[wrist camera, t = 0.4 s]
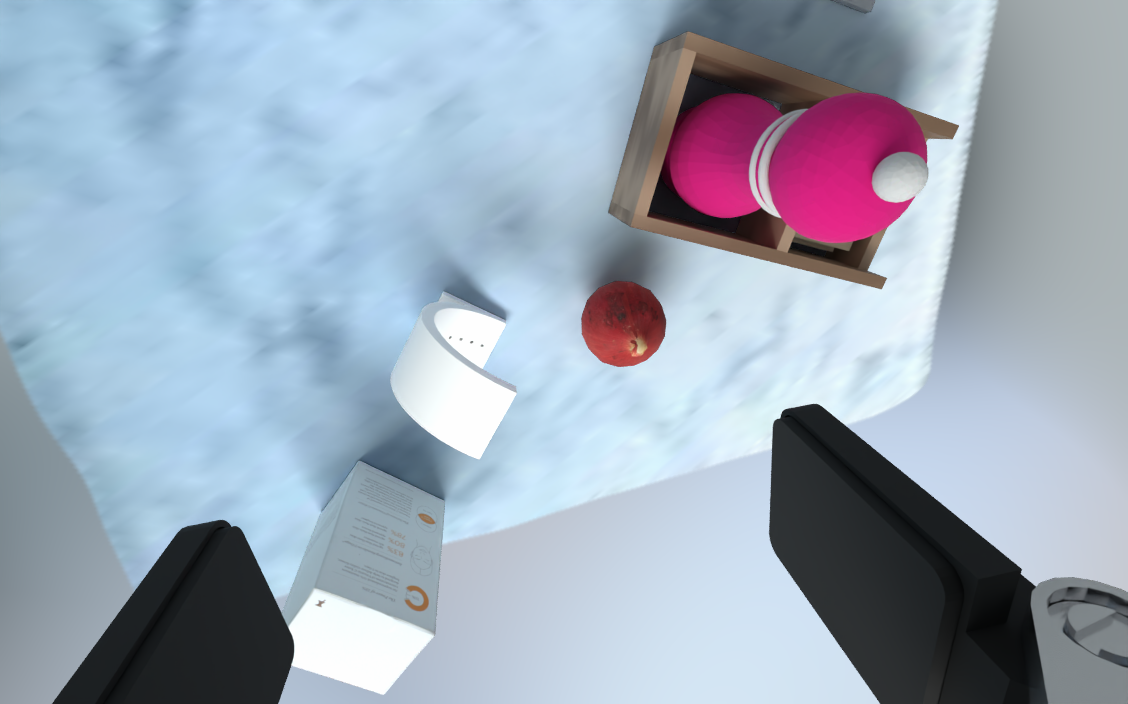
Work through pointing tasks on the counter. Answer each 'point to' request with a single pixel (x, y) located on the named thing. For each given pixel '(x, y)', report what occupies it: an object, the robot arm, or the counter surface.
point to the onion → (623, 324)
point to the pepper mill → (800, 162)
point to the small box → (368, 581)
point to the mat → (858, 4)
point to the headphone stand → (453, 374)
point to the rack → (760, 228)
